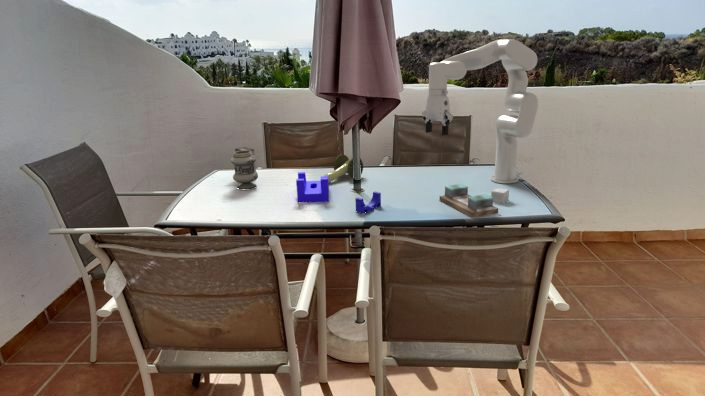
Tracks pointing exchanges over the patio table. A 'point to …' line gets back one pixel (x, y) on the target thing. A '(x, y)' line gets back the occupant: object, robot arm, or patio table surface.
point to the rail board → (466, 210)
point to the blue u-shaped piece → (371, 205)
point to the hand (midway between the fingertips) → (436, 133)
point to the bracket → (312, 189)
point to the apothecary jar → (244, 169)
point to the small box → (500, 195)
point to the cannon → (342, 167)
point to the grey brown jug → (247, 149)
